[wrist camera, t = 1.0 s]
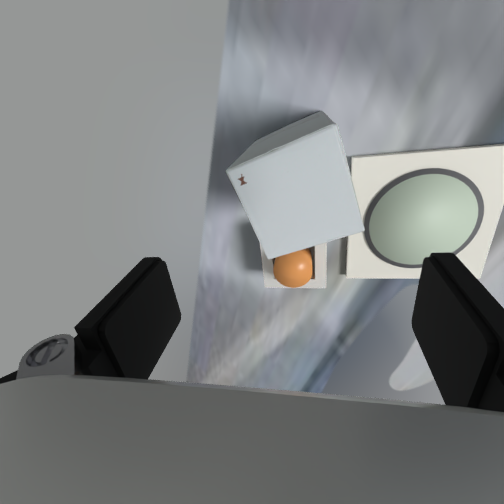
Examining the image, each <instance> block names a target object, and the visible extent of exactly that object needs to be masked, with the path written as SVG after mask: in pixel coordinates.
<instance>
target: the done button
mask: <svg viewBox="0 0 504 504" xmlns="http://www.w3.org/2000/svg"><path fill="white" fill-rule="evenodd" d="M273 273H274V276H275V278H276V280H277V281H278V282H279V283H280V284H282V285H284V286H286V287H291V288H296V287H301V286H303V285H305V284H306V283H308V282H309V280H310V279H311V277H312V254H311V251H310V249H309V248H306V249H303V250H299V251H296V252H292V253H289V254H286V255H282V256H279V257H276V258H275V263H274V269H273Z"/></svg>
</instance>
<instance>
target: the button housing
mask: <svg viewBox="0 0 504 504" xmlns="http://www.w3.org/2000/svg"><path fill="white" fill-rule="evenodd" d="M309 249H310V251H311V254H312V277H311V279H310V280H309V282H308V283H306V284H305V285H303V286H301V287H296V288H326V259H327V242H326V243H323V244H319V245H316V246H313V247H309ZM260 250H261V258H262V267H263V275H264V284H265V288H291V287H286V286H284V285H282V284H280V283H279V282H278V281H277V280H276V278H275V276H274V273H273V269H274V263H275V258H272V259H268V258H267V257H266V255H265V253H264V251H263V248H262V246H261V244H260Z"/></svg>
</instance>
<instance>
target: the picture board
mask: <svg viewBox="0 0 504 504" xmlns="http://www.w3.org/2000/svg"><path fill="white" fill-rule="evenodd" d="M351 178H352V182H353V185H354V189H355V193H356V197H357V201H358V205H359V209H360V213H361V217H362V220H363V224H364V228H365V231H363V232H360V233H356V234H353V235H350V236H348V239H347V261H346V278H420V275H421V269H422V264H423V260H424V258H425V257H429V256H430V254H431V253H444V252H452V253H454V254H455V255H456V256H457V257H458V258H459V259H460V261H461V262H462V263H463V264H464V265H465V266H466V267H467V268H468V269H469V271H470V272H471V273H472V274H473V275H474V276H475V277H476V278H477V279H480V277H481V274H482V271H483V268H484V265H485V262H486V258H487V255H488V252H489V249H490V246H491V243H492V240H493V236H494V233H495V230H496V227H497V224H498V221H499V217H500V214H501V211H502V208H503V205H504V144H495V145H483V146H472V147H460V148H448V149H436V150H424V151H412V152H400V153H388V154H376V155H364V156H352V157H351Z"/></svg>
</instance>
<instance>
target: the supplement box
mask: <svg viewBox="0 0 504 504" xmlns="http://www.w3.org/2000/svg"><path fill="white" fill-rule="evenodd" d="M226 174H227V176H228V178H229V180H230V182H231V184H232V186H233V188H234V190H235V192H236V194H237V196H238V198H239V200H240V202H241V204H242V206H243V208H244V210H245V212H246V214H247V216H248V219H249V221H250V223H251V225H252V227H253V229H254V231H255V233H256V236H257V238H258V240H259V242H260V244H261V246H262V248H263V251H264V253H265V255H266V257H267V258H268V259H272V258H276V257H279V256H282V255H286V254H289V253H292V252H296V251H299V250H303V249H306V248H309V247H313V246H316V245H319V244H323V243H326V242H329V241H333V240H336V239H340V238H343V237H346V236H350V235H353V234H356V233H360V232H363V231H365V228H364V224H363V220H362V217H361V213H360V209H359V205H358V201H357V197H356V193H355V189H354V185H353V182H352V178H351V174H350V170H349V166H348V162H347V158H346V154H345V151H344V147H343V143H342V139H341V135H340V132H339V128H338V125H337V124H336V123H334V122H333V121H332V120H331V119H330V118H329V117H328V116H327V115H326V114H325V113H324V112H323V111H320V112H317V113H315V114H312V115H310V116H308V117H305V118H303V119H301V120H299V121H296V122H294V123H292V124H289V125H287V126H285V127H283V128H281V129H279V130H277V131H275V132H272V133H270V134H268V135H266V136H264V137H262V138H260V139H258V140H256V141H255V142H254V143H253V144H252V145H251V146H250V147H249V148H248V149H247V150H246V151H245V152H244V153H243V154H242V155H241V156H240V157H239V158H238V159H237V160H236V161H235V162H234V163H233V164H231V165H230V166H229V167H228V169H227V170H226Z"/></svg>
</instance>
